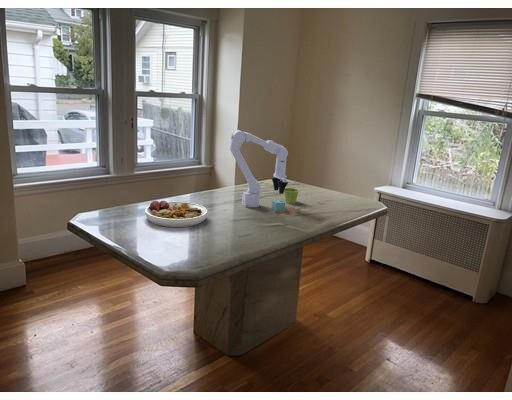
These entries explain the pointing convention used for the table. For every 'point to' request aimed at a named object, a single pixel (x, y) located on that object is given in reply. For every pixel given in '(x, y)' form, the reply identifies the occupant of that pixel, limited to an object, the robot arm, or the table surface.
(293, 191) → the plant pot
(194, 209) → the bowl
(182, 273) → the table surface
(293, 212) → the panel
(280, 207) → the blue cube with slot
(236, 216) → the table surface
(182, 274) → the table surface
